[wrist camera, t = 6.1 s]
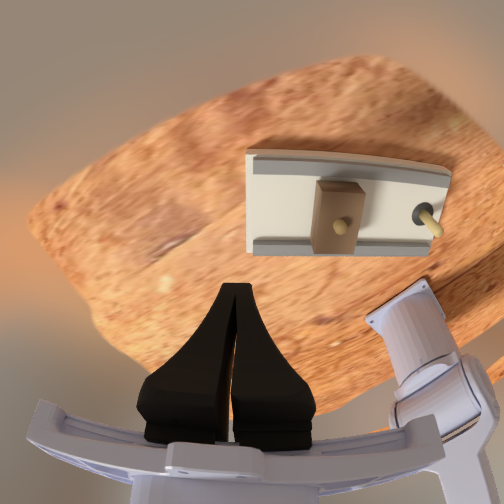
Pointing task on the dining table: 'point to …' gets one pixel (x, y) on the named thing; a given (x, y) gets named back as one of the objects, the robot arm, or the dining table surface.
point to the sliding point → (336, 217)
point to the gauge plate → (348, 170)
